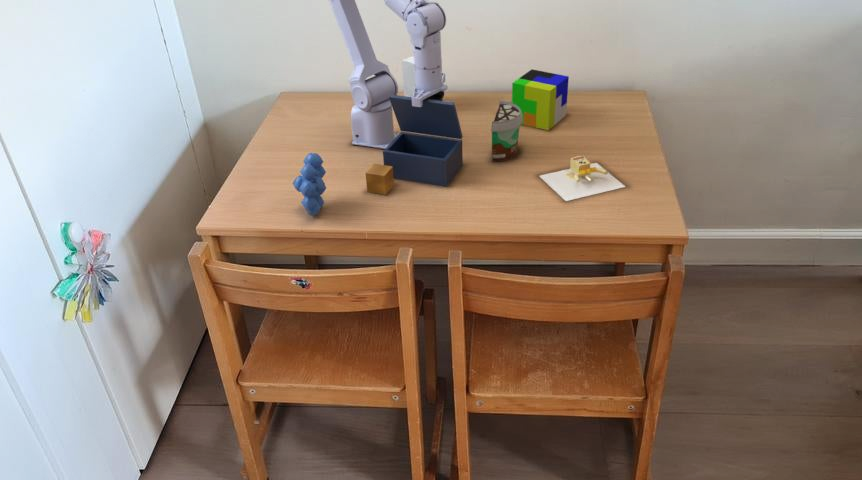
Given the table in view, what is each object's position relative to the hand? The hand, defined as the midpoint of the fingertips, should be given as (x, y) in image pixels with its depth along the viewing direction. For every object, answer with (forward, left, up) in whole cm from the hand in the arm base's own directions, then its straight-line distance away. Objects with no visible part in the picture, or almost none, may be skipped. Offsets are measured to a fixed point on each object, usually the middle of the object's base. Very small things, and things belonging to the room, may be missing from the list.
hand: (430, 125), depth 168 cm
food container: (+15, +9, -9) cm, 20 cm away
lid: (0, -3, +3) cm, 4 cm away
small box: (-13, +27, -9) cm, 31 cm away
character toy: (+34, +1, -9) cm, 35 cm away
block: (-6, -15, -9) cm, 18 cm away
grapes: (-16, -27, -9) cm, 33 cm away
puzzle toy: (+17, +29, -9) cm, 35 cm away
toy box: (0, -5, -9) cm, 10 cm away
